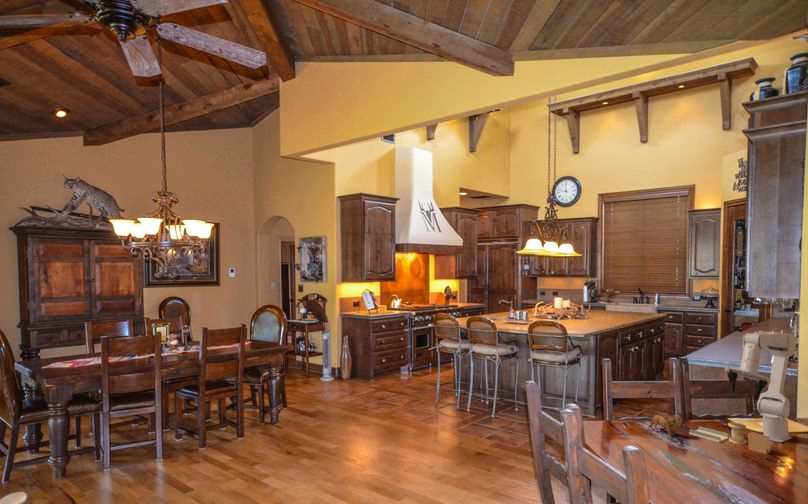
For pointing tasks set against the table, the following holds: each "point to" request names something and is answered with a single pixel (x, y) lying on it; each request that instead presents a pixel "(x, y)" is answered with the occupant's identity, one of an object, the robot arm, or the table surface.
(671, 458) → the table surface
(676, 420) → the lion figurine
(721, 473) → the table surface
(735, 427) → the bobbin
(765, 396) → the robot arm
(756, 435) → the tan block
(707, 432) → the notched board
